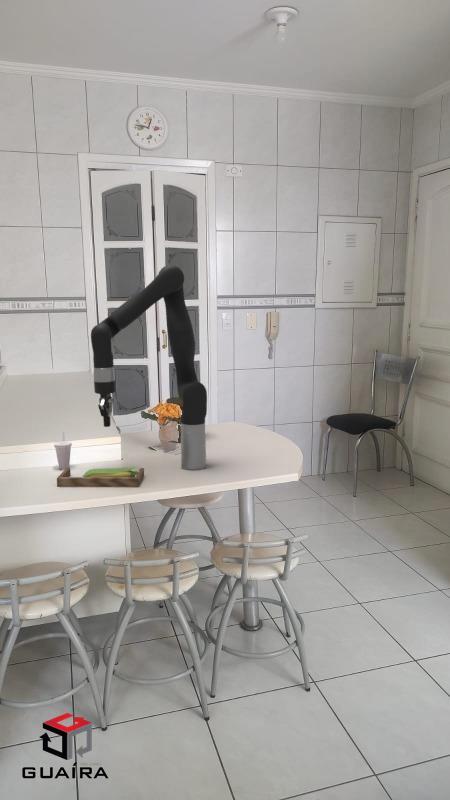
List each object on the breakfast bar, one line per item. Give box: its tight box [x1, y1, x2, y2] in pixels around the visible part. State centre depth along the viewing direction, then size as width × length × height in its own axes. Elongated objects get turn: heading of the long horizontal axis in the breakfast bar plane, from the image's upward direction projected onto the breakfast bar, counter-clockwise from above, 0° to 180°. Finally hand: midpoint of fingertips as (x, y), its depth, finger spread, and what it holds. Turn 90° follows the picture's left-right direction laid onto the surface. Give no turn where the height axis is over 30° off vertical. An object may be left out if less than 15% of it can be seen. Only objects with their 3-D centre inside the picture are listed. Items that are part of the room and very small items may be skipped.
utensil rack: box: [56, 467, 145, 488], centre depth 196 cm, size 28×12×3 cm, turn 89°
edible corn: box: [82, 466, 139, 477], centre depth 197 cm, size 5×20×5 cm
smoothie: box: [53, 431, 73, 470], centre depth 211 cm, size 6×6×14 cm
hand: (107, 426), depth 205 cm, fingers closed
